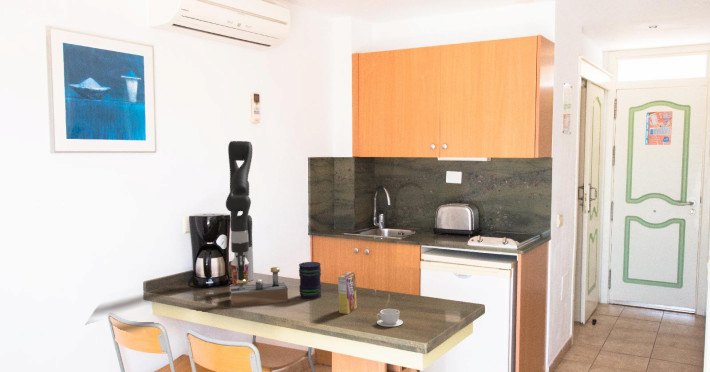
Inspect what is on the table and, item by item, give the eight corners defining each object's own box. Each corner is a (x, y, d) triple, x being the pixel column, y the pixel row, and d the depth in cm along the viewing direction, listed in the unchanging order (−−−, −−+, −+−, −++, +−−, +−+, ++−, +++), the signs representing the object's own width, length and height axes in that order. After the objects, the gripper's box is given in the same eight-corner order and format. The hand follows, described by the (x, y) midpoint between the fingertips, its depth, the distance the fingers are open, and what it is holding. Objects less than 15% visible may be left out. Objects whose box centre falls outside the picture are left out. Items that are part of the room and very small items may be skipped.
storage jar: (323, 293, 263) (322, 261, 262) (319, 299, 253) (319, 266, 252) (301, 293, 264) (301, 261, 263) (297, 299, 254) (296, 266, 253)
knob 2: (270, 287, 257) (270, 267, 256) (279, 286, 258) (279, 266, 257) (271, 289, 253) (271, 269, 252) (280, 289, 254) (280, 268, 253)
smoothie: (247, 293, 266) (246, 251, 264) (230, 294, 266) (228, 251, 264) (251, 289, 274) (250, 247, 272) (234, 289, 274) (232, 248, 273)
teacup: (401, 319, 224) (401, 307, 224) (404, 327, 214) (404, 315, 214) (375, 319, 224) (375, 308, 224) (377, 328, 214) (377, 315, 214)
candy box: (347, 307, 241) (346, 271, 240) (356, 308, 239) (356, 272, 238) (338, 313, 233) (337, 276, 232) (347, 314, 231) (347, 277, 230)
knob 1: (237, 299, 254) (236, 278, 253) (246, 298, 255) (245, 278, 254) (237, 301, 250) (236, 281, 249) (246, 301, 251) (246, 280, 250)
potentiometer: (255, 288, 251) (255, 279, 251) (262, 288, 252) (262, 279, 252) (256, 290, 248) (255, 281, 248) (263, 289, 249) (262, 280, 249)
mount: (231, 299, 257) (230, 286, 257) (284, 294, 263) (284, 281, 262) (232, 306, 245) (231, 292, 245) (287, 301, 251) (287, 288, 251)
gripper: (230, 238, 256) (231, 277, 257) (231, 243, 243) (233, 284, 244) (247, 237, 258) (248, 275, 259) (249, 242, 245) (250, 282, 246)
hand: (241, 279), depth 252 cm, fingers closed
